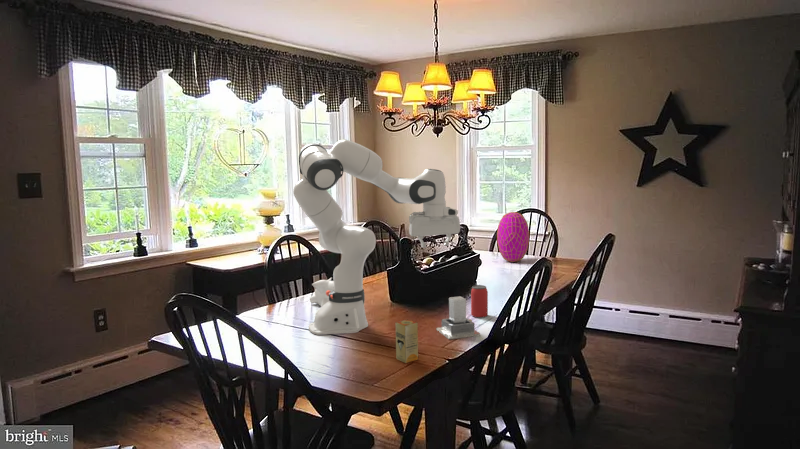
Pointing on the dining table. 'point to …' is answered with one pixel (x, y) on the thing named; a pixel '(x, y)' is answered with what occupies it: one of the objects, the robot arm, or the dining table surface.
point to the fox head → (322, 291)
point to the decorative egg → (513, 236)
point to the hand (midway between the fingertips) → (435, 246)
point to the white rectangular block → (457, 310)
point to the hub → (458, 329)
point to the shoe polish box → (407, 341)
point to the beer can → (479, 301)
